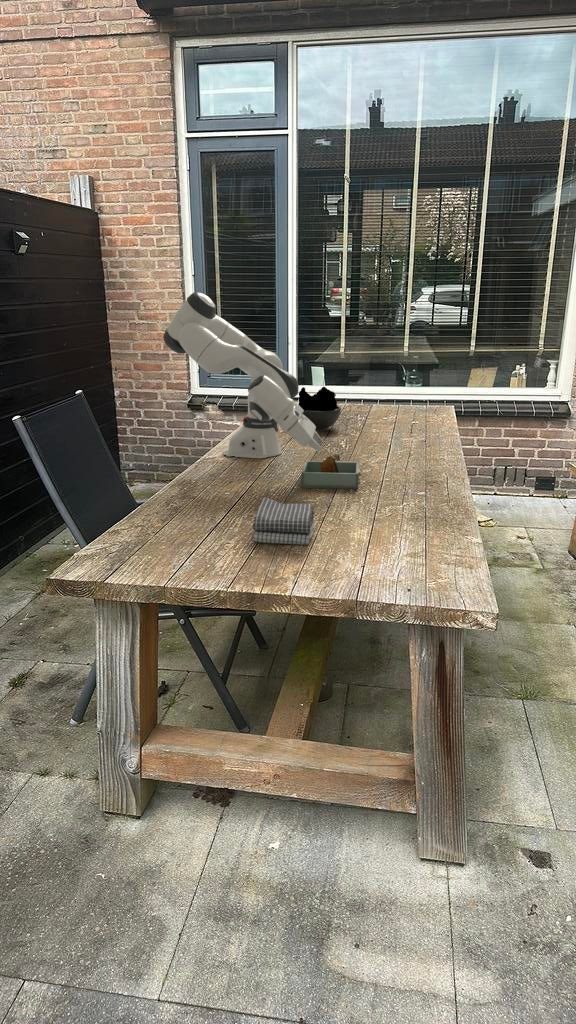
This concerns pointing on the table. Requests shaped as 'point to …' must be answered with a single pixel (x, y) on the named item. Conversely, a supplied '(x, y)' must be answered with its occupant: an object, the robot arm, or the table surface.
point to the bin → (330, 476)
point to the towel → (283, 523)
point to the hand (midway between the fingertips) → (321, 446)
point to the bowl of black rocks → (320, 407)
